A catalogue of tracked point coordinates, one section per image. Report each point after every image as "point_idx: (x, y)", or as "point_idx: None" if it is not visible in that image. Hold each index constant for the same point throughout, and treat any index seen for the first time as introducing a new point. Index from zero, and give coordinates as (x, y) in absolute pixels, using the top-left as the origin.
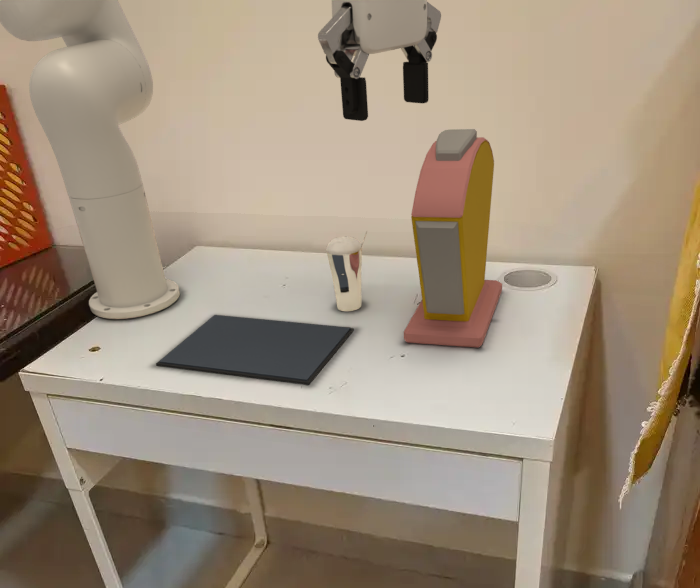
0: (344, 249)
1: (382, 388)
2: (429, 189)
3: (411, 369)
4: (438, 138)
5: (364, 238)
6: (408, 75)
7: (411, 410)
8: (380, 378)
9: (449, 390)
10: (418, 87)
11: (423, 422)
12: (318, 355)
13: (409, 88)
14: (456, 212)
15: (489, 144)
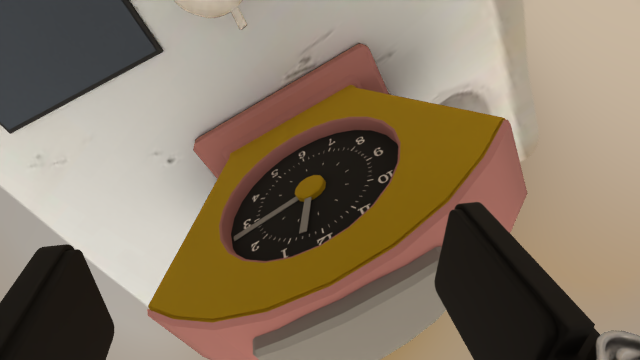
0: (180, 5)
1: (99, 198)
2: (190, 338)
3: (156, 190)
4: (305, 337)
5: (237, 20)
6: (501, 309)
7: (100, 245)
8: (111, 181)
9: (160, 243)
10: (462, 310)
11: (98, 264)
12: (58, 86)
13: (469, 268)
14: (200, 354)
15: None
